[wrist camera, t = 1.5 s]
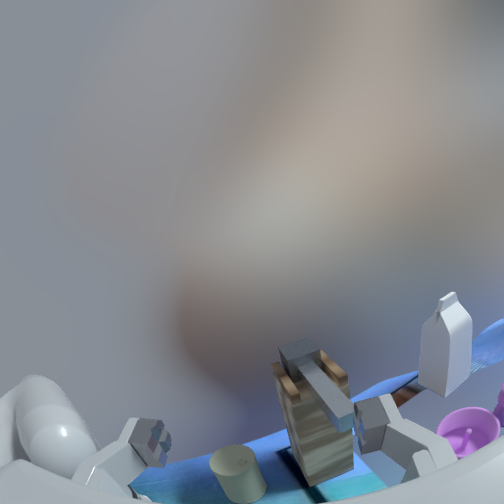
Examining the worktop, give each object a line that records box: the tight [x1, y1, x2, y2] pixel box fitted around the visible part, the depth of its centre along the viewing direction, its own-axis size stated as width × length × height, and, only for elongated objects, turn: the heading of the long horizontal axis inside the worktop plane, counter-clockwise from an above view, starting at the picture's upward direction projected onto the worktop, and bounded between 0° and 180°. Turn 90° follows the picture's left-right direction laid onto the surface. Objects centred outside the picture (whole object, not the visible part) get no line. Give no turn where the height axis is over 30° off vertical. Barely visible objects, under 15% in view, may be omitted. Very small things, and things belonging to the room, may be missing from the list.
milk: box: [418, 292, 472, 398], centre depth 60 cm, size 12×12×26 cm
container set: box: [435, 383, 504, 460], centre depth 35 cm, size 25×15×13 cm, turn 92°
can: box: [209, 445, 267, 504], centre depth 45 cm, size 9×9×12 cm
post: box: [271, 350, 354, 487], centre depth 48 cm, size 12×10×27 cm
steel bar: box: [278, 338, 355, 433], centre depth 42 cm, size 22×6×5 cm, turn 11°
